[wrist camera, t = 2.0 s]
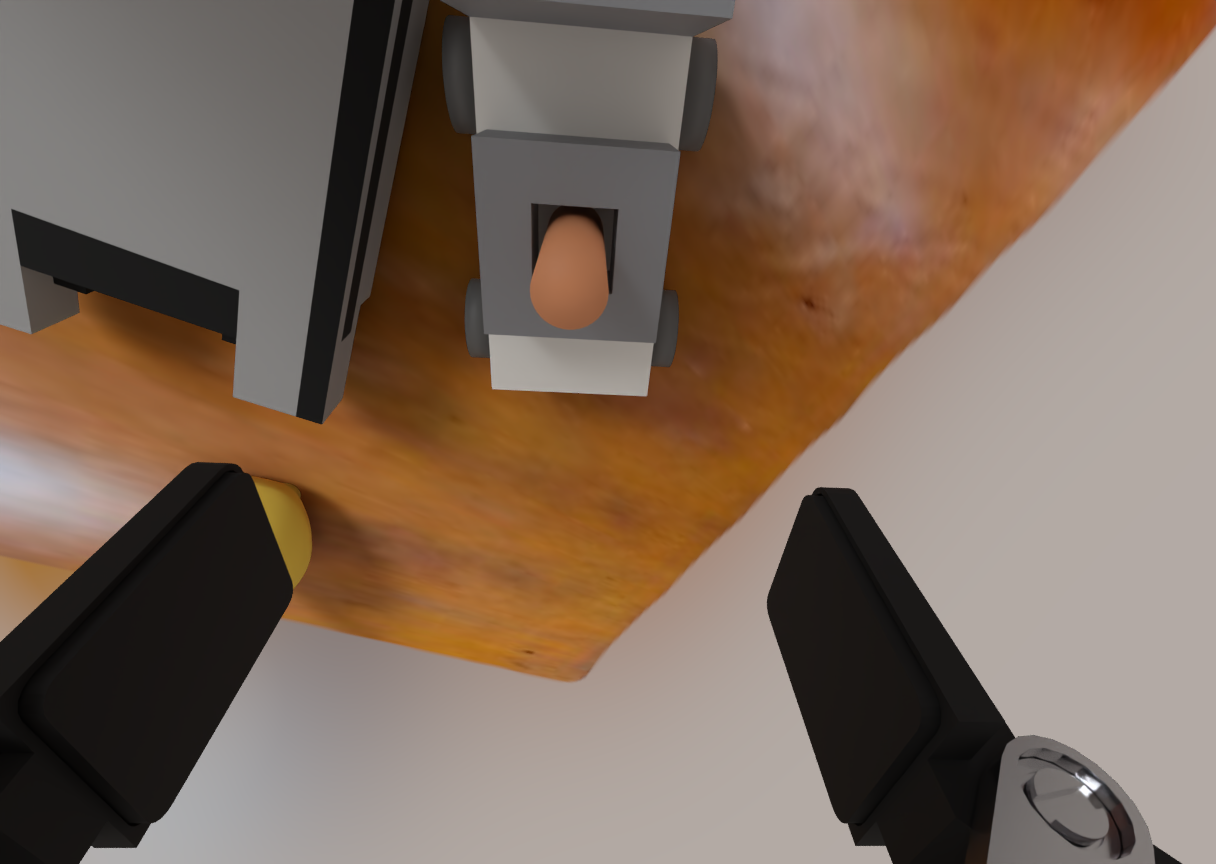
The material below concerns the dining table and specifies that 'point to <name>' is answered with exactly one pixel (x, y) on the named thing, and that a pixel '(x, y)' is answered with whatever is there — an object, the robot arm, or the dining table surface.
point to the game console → (206, 170)
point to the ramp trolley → (577, 170)
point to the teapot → (287, 524)
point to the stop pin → (571, 269)
